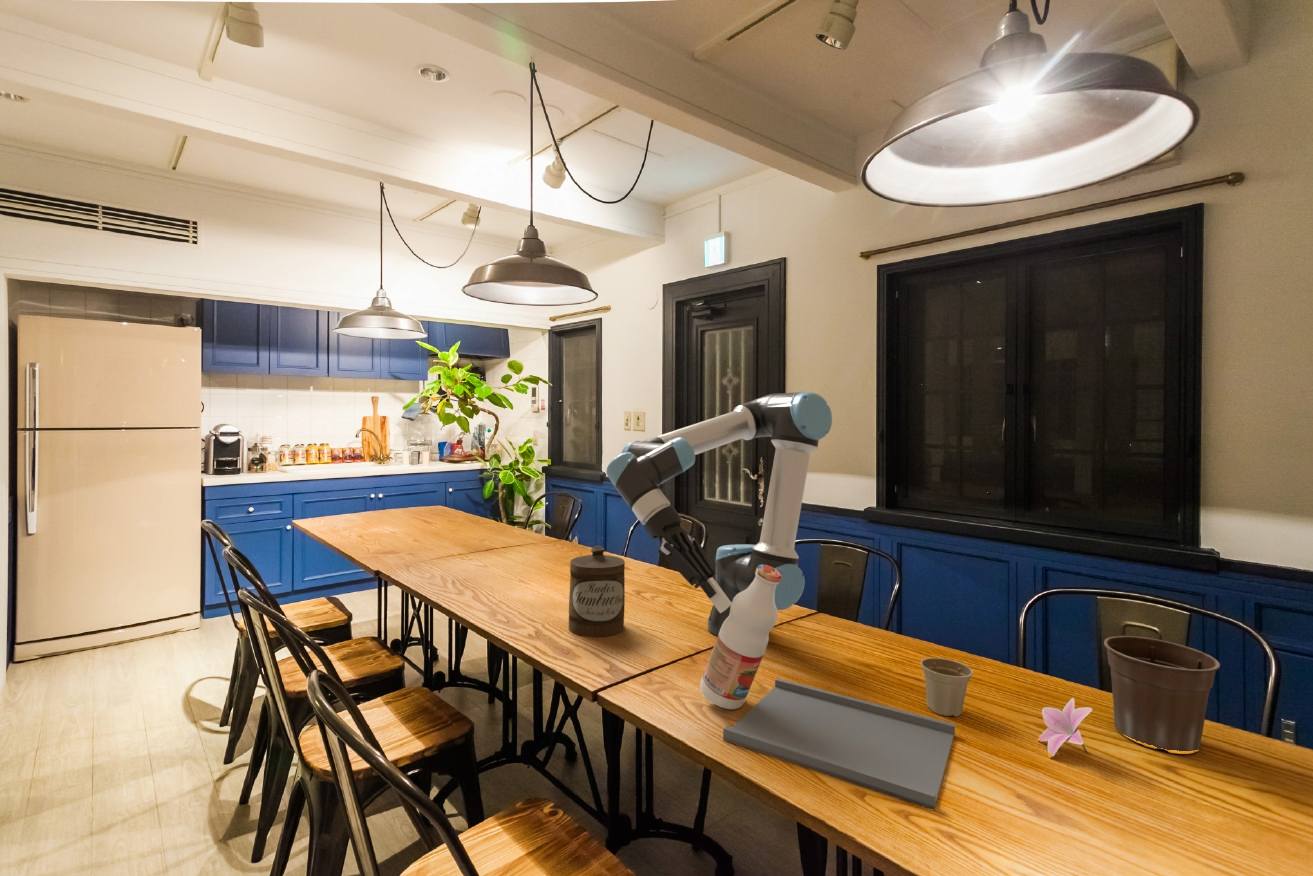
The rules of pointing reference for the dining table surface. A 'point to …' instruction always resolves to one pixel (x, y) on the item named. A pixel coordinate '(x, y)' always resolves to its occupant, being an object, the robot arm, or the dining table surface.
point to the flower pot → (945, 685)
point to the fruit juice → (742, 641)
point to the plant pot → (1160, 691)
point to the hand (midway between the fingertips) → (726, 608)
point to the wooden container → (596, 594)
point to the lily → (1063, 725)
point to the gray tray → (849, 740)
